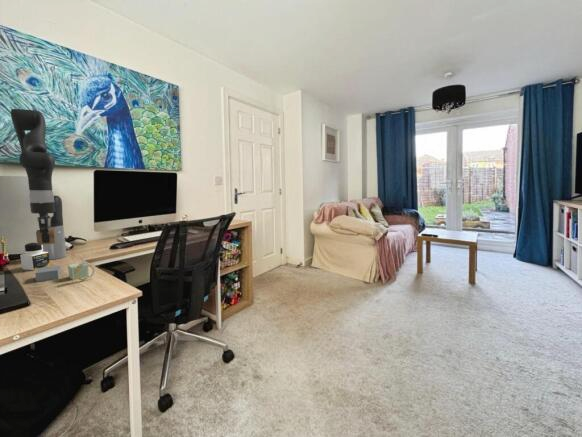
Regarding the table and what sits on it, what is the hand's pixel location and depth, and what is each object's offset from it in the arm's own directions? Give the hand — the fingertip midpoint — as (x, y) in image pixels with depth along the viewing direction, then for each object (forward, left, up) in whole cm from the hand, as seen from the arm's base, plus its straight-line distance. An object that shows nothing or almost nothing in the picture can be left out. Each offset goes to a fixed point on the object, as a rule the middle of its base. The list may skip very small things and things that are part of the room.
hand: (46, 241), depth 114 cm
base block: (0, 0, -16) cm, 16 cm away
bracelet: (+13, +12, -16) cm, 24 cm away
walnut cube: (0, 0, -1) cm, 1 cm away
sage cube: (+6, +10, -16) cm, 20 cm away
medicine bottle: (-21, -6, -16) cm, 27 cm away
